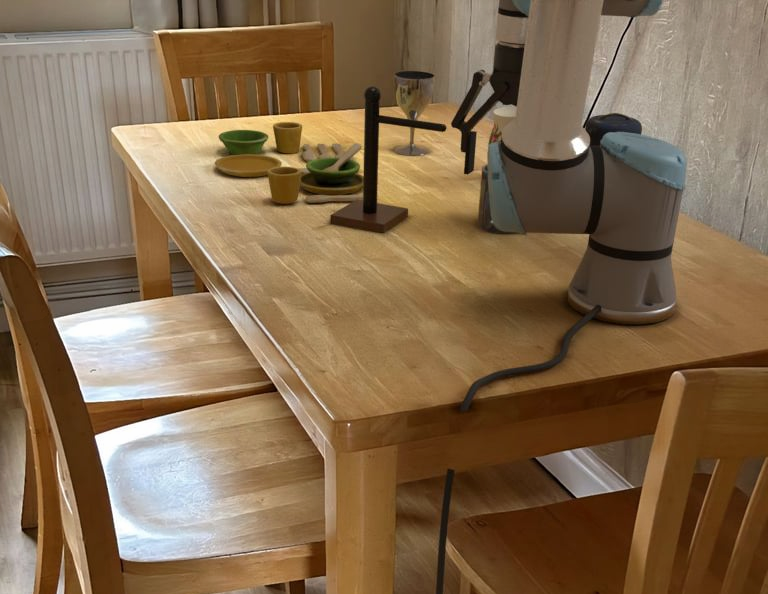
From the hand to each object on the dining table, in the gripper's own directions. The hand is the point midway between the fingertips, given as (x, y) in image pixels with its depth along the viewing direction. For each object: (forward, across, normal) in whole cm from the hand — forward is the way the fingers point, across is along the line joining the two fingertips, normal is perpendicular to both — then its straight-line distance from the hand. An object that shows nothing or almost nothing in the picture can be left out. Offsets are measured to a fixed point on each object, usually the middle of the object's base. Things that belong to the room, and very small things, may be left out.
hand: (506, 178), depth 177 cm
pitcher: (+8, +7, -25) cm, 27 cm away
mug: (+8, 0, +3) cm, 8 cm away
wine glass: (+9, +33, -36) cm, 49 cm away
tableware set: (+8, +46, -8) cm, 48 cm away
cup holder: (+8, +17, +9) cm, 21 cm away
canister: (+8, -14, -12) cm, 20 cm away
